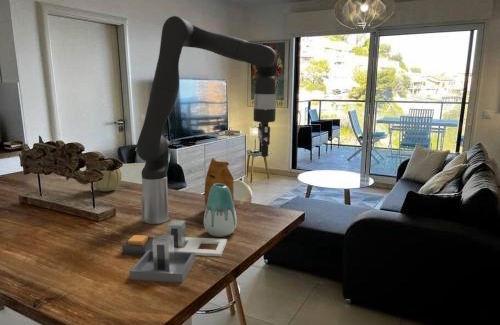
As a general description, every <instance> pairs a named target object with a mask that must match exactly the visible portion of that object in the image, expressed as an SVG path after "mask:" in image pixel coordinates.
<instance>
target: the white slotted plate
mask: <svg viewBox="0 0 500 325" xmlns="http://www.w3.org/2000/svg"><path fill="white" fill-rule="evenodd" d="M202 244H203V245H204V244H205V245H217V247H216V248H215V249H205V248H202V249H201V248H200V246H201V245H202ZM227 244H228V239H227V238H212V237H209V238H208V237H190V236H188V237H187V236H186V244H185V246H184V247H183V248H174V251H181V252H195V256H205V257H206V256H207V257H222V256H223V255H222V254H223V252H224V249H225V247H226V245H227Z"/></svg>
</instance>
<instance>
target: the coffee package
mask: <svg viewBox="0 0 500 325" xmlns="http://www.w3.org/2000/svg"><path fill="white" fill-rule="evenodd" d="M228 166H230V164H229V162H228V161H219V160H218V161H217V160H216V158H214V157H212V158H211V160H210V163H209V167H208V169H207V172H206V175H205V183H204V209H205V208H206V205H207V201H208V196H209V192H210V189H211V187H212V186H213V184H216V183H220V184H224V185H226V186H227V187H228V188H229V190H230V192H231V196H232V201H233V204H234V202H235V200H234V199H235V196H234V191H235V190H234V187H235V186H234V181H235V180H234V177H233V174H232V173H231V171H230V170H229V167H228ZM234 205H235V204H234Z"/></svg>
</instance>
